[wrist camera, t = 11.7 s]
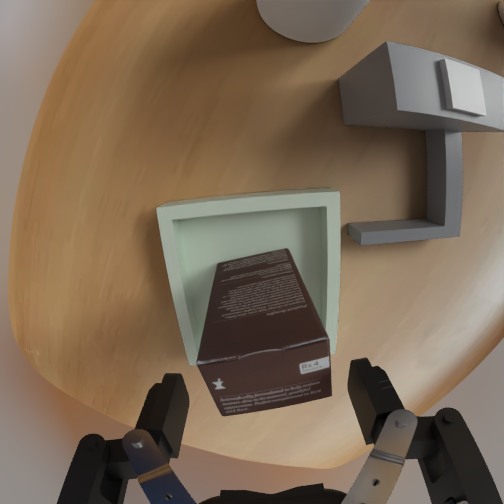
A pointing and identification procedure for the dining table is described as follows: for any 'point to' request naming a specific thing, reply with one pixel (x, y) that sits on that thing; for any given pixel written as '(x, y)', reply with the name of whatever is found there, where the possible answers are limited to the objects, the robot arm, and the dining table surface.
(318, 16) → the pill bottle
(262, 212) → the tray
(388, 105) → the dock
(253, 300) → the box
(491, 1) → the dining table surface
